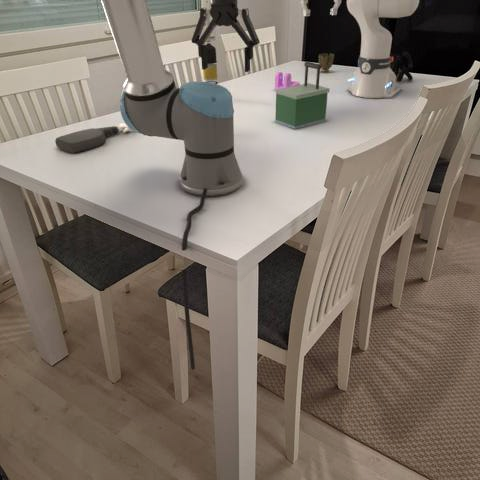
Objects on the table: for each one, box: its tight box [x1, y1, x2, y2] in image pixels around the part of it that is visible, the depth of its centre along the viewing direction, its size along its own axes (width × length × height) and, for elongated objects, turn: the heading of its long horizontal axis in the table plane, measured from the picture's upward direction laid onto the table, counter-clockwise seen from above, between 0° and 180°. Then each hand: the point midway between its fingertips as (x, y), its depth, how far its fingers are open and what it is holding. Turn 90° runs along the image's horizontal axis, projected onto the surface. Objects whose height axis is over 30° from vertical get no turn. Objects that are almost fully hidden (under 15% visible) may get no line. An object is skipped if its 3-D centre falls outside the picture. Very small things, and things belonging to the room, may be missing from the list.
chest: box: [274, 93, 329, 130], centre depth 149 cm, size 14×10×9 cm
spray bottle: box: [54, 123, 133, 154], centre depth 138 cm, size 3×11×24 cm
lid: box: [275, 61, 330, 100], centre depth 144 cm, size 14×10×9 cm
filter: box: [202, 14, 219, 84], centre depth 171 cm, size 6×6×30 cm
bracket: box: [274, 71, 301, 91], centre depth 190 cm, size 13×6×7 cm, turn 143°
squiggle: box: [390, 51, 414, 83], centre depth 198 cm, size 11×10×15 cm
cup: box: [318, 52, 335, 73], centre depth 215 cm, size 8×7×8 cm
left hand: (225, 70), depth 133 cm, fingers open, 13 cm apart
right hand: (320, 15), depth 139 cm, fingers open, 8 cm apart
